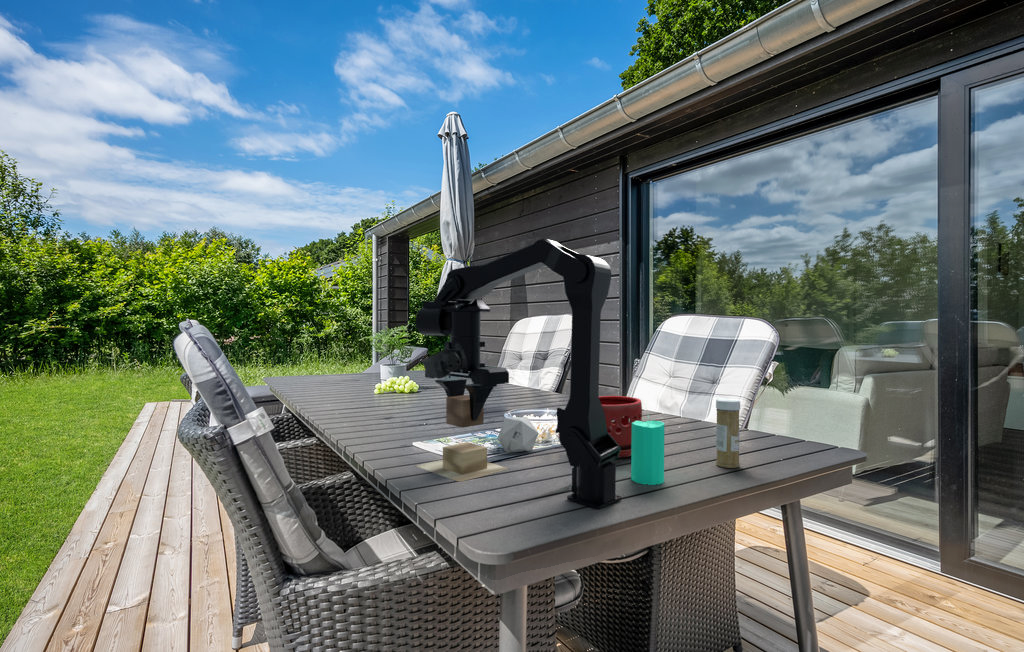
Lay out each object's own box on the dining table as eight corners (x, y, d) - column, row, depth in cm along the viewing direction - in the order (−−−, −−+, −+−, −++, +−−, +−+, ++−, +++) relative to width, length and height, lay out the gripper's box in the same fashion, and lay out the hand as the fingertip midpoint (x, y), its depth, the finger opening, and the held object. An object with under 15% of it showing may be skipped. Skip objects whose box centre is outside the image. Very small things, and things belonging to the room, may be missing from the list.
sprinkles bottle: (742, 469, 105) (743, 401, 105) (719, 468, 105) (719, 400, 105) (735, 463, 109) (736, 397, 109) (712, 462, 110) (713, 397, 110)
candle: (668, 478, 99) (668, 413, 99) (659, 486, 94) (660, 418, 93) (636, 473, 102) (637, 410, 102) (626, 481, 97) (627, 415, 96)
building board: (509, 473, 101) (509, 468, 101) (459, 487, 93) (459, 481, 93) (463, 459, 111) (463, 454, 111) (414, 470, 103) (414, 465, 103)
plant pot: (607, 443, 126) (608, 393, 126) (654, 454, 116) (654, 399, 116) (568, 452, 118) (568, 398, 118) (614, 464, 108) (614, 405, 107)
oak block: (487, 468, 101) (487, 447, 101) (462, 474, 97) (462, 452, 97) (467, 462, 105) (467, 442, 105) (442, 468, 101) (442, 447, 101)
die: (489, 455, 117) (495, 426, 111) (505, 430, 124) (512, 401, 118) (523, 471, 115) (531, 442, 109) (537, 445, 122) (546, 416, 116)
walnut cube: (483, 423, 101) (483, 397, 101) (462, 427, 97) (462, 400, 97) (466, 420, 104) (466, 394, 104) (446, 423, 101) (446, 397, 101)
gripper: (401, 335, 102) (401, 417, 102) (462, 338, 88) (462, 432, 89) (448, 334, 110) (448, 410, 110) (511, 337, 96) (510, 423, 96)
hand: (465, 418), depth 101 cm, fingers closed on walnut cube, 5 cm apart
